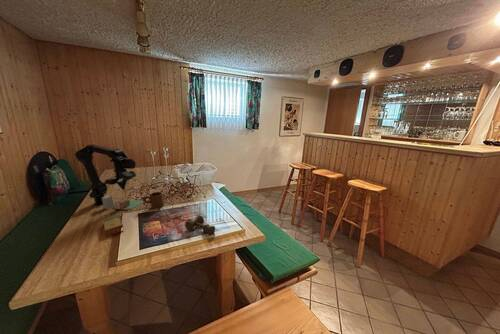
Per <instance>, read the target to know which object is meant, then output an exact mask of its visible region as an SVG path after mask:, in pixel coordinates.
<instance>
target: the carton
mask: <svg viewBox="0 0 500 334" xmlns="http://www.w3.org/2000/svg"><path fill="white" fill-rule="evenodd" d="M102 222H103V223H102V224H103V227H104V233H105V237H109V236H113V235H115V234H119V233H121V232H120V231H121V228H122V227H123V228H124V224H123V222H122V219H121V216H120V214H119V213H118V214H114V215H110V216H107V217H104V218H102Z"/></svg>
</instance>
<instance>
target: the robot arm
mask: <svg viewBox="0 0 500 334" xmlns="http://www.w3.org/2000/svg"><path fill="white" fill-rule="evenodd" d="M94 153H96V154H101V155H105V156H107V157H108V158H109V159H110V160H109V162H110V163H113V168H114V169H112V171H113V172H114V174H115V175H114V178H113V177H110V178H107V179H105V180H104V182H103V181H102V180H101V179H100V176H99V175H98V171H97V170H96V167H95V165H94V163H93V159H94V156H93V154H94ZM74 155H75V157H76V159H77V161H78V162H80V163H81V164H83V167H84V169H85V172H86V173H87V176H88V177H89V180H90V182H91V187H90V190H91V192H90V193H89V195H88V196H89V198H92V199H93V200H94V203H92V205H93V206H94V205H95V206H103V201H102V197H105V194H107V192H108V185H109V186H110V185H111V186H113V185H115V184H117V185H118V186H119V188H120V189H121V190H123V191H125V188H126V184H127V182H128V181H129V180H132V179H133V178H135V177H137V174H136V173H135V171H133V170H134V169H135V168H136V166H137V165H136V164H137V163H136V162H135V160H134V159H133V157H132V158H129V156H128V155H127V154H126V153H125V152H124V151H123V149H121V148H108V147H104V146H100V145H96V144H88V145H85V146H84V147H83V148H81V149H79V150H77V151H75V153H74ZM127 169H131V171H128V170H127Z"/></svg>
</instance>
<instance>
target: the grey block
mask: <svg viewBox="0 0 500 334" xmlns="http://www.w3.org/2000/svg"><path fill="white" fill-rule="evenodd" d="M102 201H103V204H102V206H103V208H104V209H106V210H110V209H113V207H114V200H113V196H112V195H104V197H102Z"/></svg>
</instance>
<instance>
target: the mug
mask: <svg viewBox="0 0 500 334" xmlns="http://www.w3.org/2000/svg"><path fill="white" fill-rule="evenodd" d="M147 199H149V200H147ZM163 199H164V198H163V194H162V192H160V191H156V192H151V193H150V194H149V195H146V196H144V197H143V198H142V201H144V204H150V207H151V208H152V209H154V208H157V209H161V208H163V206H164V200H163ZM160 207H161V208H160Z"/></svg>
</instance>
